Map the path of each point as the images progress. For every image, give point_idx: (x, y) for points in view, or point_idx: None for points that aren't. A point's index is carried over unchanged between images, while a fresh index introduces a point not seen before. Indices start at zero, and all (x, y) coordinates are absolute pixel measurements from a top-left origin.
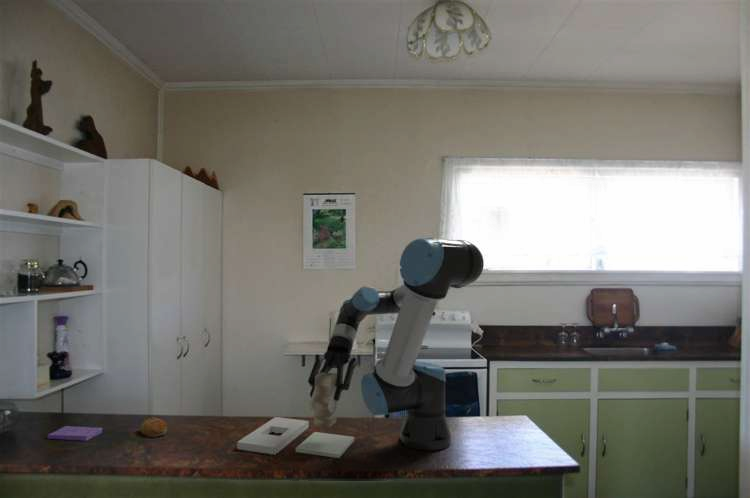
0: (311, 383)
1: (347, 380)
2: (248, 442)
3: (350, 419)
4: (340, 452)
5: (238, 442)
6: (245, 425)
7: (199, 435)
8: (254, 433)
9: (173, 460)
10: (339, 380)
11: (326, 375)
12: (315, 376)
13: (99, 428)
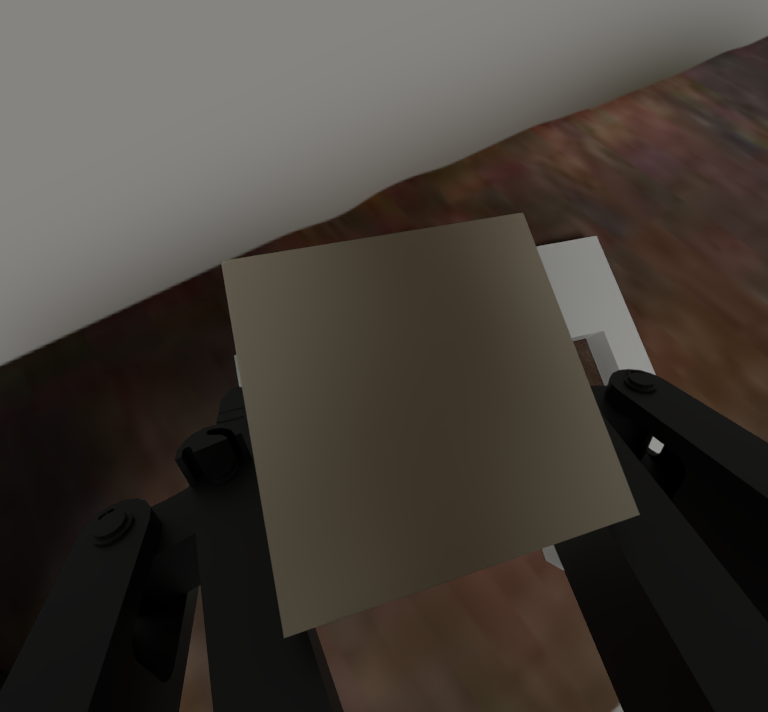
0: (594, 392)
1: (49, 613)
2: (565, 248)
3: None
4: (237, 373)
5: (591, 237)
6: (742, 418)
7: (755, 270)
8: (617, 318)
9: (640, 129)
10: (224, 546)
11: (397, 353)
12: (514, 217)
13: None
